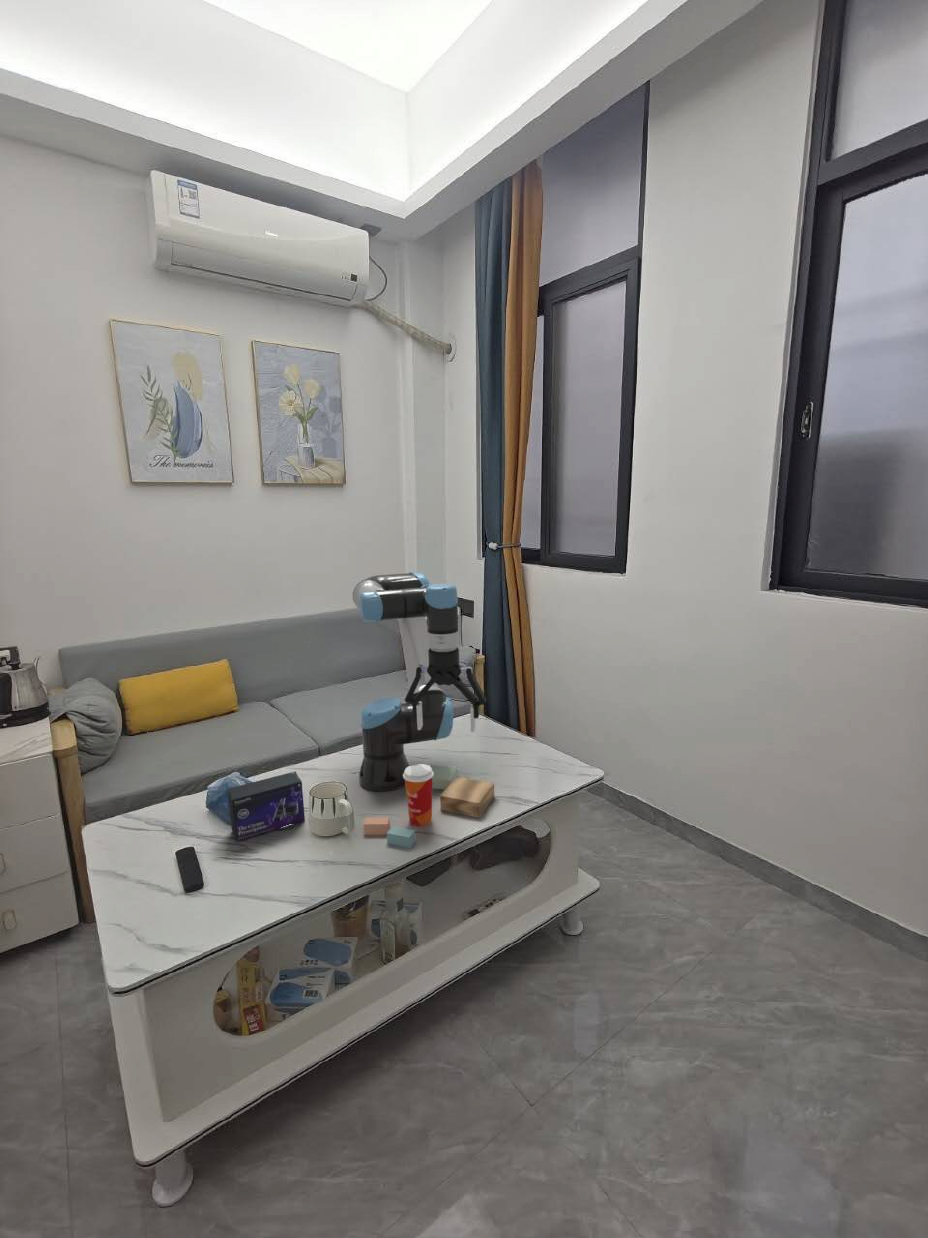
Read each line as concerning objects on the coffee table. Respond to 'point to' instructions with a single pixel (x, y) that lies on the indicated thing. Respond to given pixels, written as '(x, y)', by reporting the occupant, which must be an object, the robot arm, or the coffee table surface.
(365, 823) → the brick
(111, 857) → the coffee table surface
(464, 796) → the oak block
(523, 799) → the coffee table surface
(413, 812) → the paper cup
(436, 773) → the sage pad
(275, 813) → the box
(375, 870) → the coffee table surface
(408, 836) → the brick
